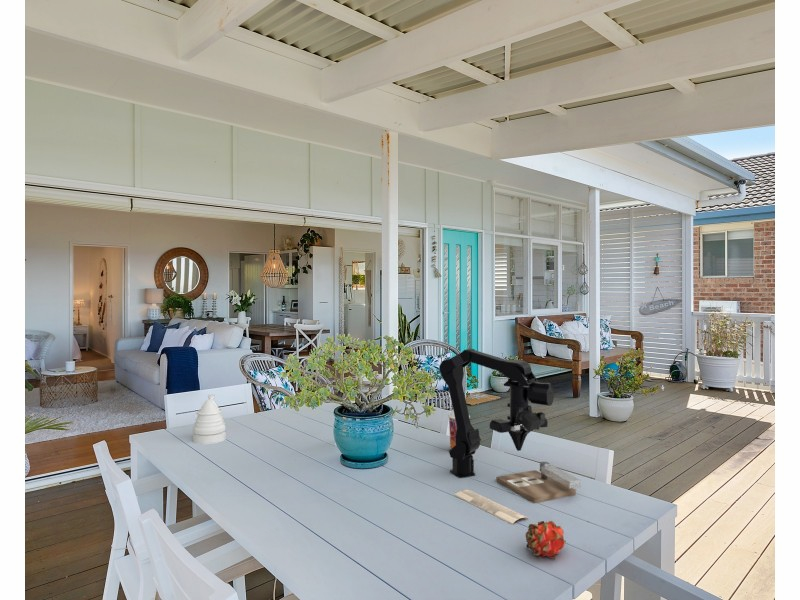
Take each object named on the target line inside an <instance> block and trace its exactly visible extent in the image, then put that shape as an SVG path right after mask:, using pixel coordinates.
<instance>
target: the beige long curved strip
mask: <svg viewBox="0 0 800 600" xmlns="http://www.w3.org/2000/svg"><path fill="white" fill-rule="evenodd" d="M454 496H455V497H456V498H459V499H461V500H462V501H464V502H465V503H468V504H470V505H473V506H475V507H477V508H479V509H481V510H482V511H485V512H486V513H489V514H491V515H492V516H495V517H496V518H499V519H500V520H503V521H504V522H507V523H508V524H511V525H512V526H513V525H514V523H515V522H516V521H518V520H520V519H524V520H528V519H529V517H528V516H525V515H523V514H521V513H519V512H517V511H515V510H513V509H510V508H509V507H506V506H504V505H502V504H500V503H498V502H495V501H494V500H491V499H489V498H488V497H485V496H483V495H480V494H479V493H476V492H475V491H473V490H471V489H462V490H460V491H458V492H457V493H455V494H454Z"/></svg>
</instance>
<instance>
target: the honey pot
mask: <svg viewBox="0 0 800 600" xmlns="http://www.w3.org/2000/svg"><path fill="white" fill-rule="evenodd" d="M215 395H216V394H208V395H207V397H208V399H206V400H205V401H204V402H203V404H202V406H201V407H200V409H198V410H197V411H196V412H195V414H196V415H197V417H196V419H195V421H194V426H193V427H192V442H193V443H195V444H197V445H198V444H199V445H210V444H211V445H212V444H217V443H221V442H224V441H225V440H226V439H227V435H226V434H227V432H226V427H227V426H226V424H225V420H224V417H223V416H222V412H223V410H222V409H221V408H219V406H218V405H217V403H216V401H214V398H215Z"/></svg>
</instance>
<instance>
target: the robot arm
mask: <svg viewBox="0 0 800 600" xmlns="http://www.w3.org/2000/svg"><path fill="white" fill-rule="evenodd" d="M470 363H472V364H475V365H478V366H481V367H485V368H487V369H491V370H493V371H496V372H499V373H501V375H503V376H504V377H506V378H508V379H507V381H505V382H504V383H503V386H504V387H509V402H508V403H507V405H506V406H507V407H508V408H509V415H507V416H506V417H507V418H506V419H507V420H505V419H502V418H497V419H492V420H490V422H489V429H490V430H491V431H494V432H498V433H501V434H503V433H508V434H509V436H510V438H511V441H512V443H513V445H514V447H515V449H516V451H518V452H519V451H522V448H523V445H524V442H525V441H526V438H527V436H528V435H529V433H531V432H533V431H534V430H535V431H536V430H540V428H542V429H543V428H547V427H548V426H549V424H548V422H549V421H548V420H547V417H546V413H544V412H543V411H539V412H533V408H532V405H530V404H535V405H542V406H549V407H550V406H552V404H553V403H554V399H555V397H554V396H555V393H554V389H553V387H552V383H550V382H539V380H538V378H537V377H536V376H535V374H534V373H533V371H532V367H531V365H530V363H529V362H528V361H526V360H518V359H505V358H502V357H500V356H495V355H492V354H488V353H485V352H482V351H478V350H476V349H475V348H467V349H464V350H462V351H461V352H460V353H458V354H456V355H454V356H453V357H450V358H448V359H443V360H442V361H441V362H440V364H439V366H438V367H439V368H438V369H439V372H440V375H441V378H442V380H443V381H444V383H445V384H446V385H447V387H448V392H449V395H450V399H451V405H452V406H451V407H452V410H453V411H454V415H455V420H456V425H457V431H456V435H455V442H456V445H455V446H454V447H453V448H452V449H451V448H450V450H448V454H449V456H450V458H452V459H451V460H452V469H450V470H449V473H451V474H453V475H454V476H455V477H457V478H459V479H460V478H466V477H473V476H476V473H475V469H474V468H475V460H474V456H473V455H475V454H476V451H477V450H478V449H479V447H480V445H481V441H482V439H481V437H480V431H479V428H474V427H473V425H472V423H471V417H470V418H469V415H470V413H469V409H468V404H467V401H466V395H465V391H464V386H463V380H464V376H465V373H464V371H465V370H464V368H465V367H467V366H469V364H470ZM529 402H530V404H529Z"/></svg>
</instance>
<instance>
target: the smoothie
mask: <svg viewBox="0 0 800 600" xmlns="http://www.w3.org/2000/svg"><path fill="white" fill-rule="evenodd" d="M469 418H470V419H471V415H470V414H469ZM448 425H449V426H448V427H449V428H448V429H449V444H450V446H449V447H450V450H451V449H452V448H453V447H454V446H455V445H456V442H455V435H456V431H457V425H456V420H455V415H454V411H453V409H452V410H451V411H450V412H449V415H448Z"/></svg>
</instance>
